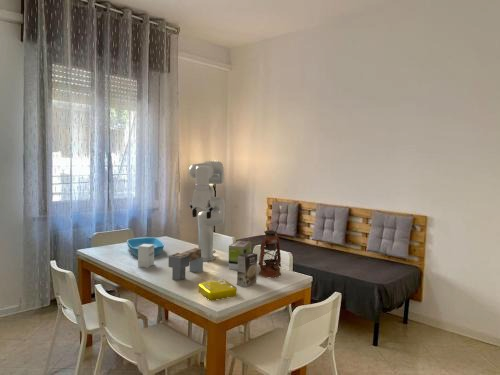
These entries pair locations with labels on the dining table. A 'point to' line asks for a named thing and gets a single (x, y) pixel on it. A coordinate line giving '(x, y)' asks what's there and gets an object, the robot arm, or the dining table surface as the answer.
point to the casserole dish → (137, 242)
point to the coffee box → (247, 269)
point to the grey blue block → (196, 265)
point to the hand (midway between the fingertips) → (201, 217)
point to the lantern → (271, 264)
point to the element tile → (217, 289)
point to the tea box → (237, 252)
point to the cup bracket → (178, 266)
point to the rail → (191, 254)
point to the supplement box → (145, 255)
